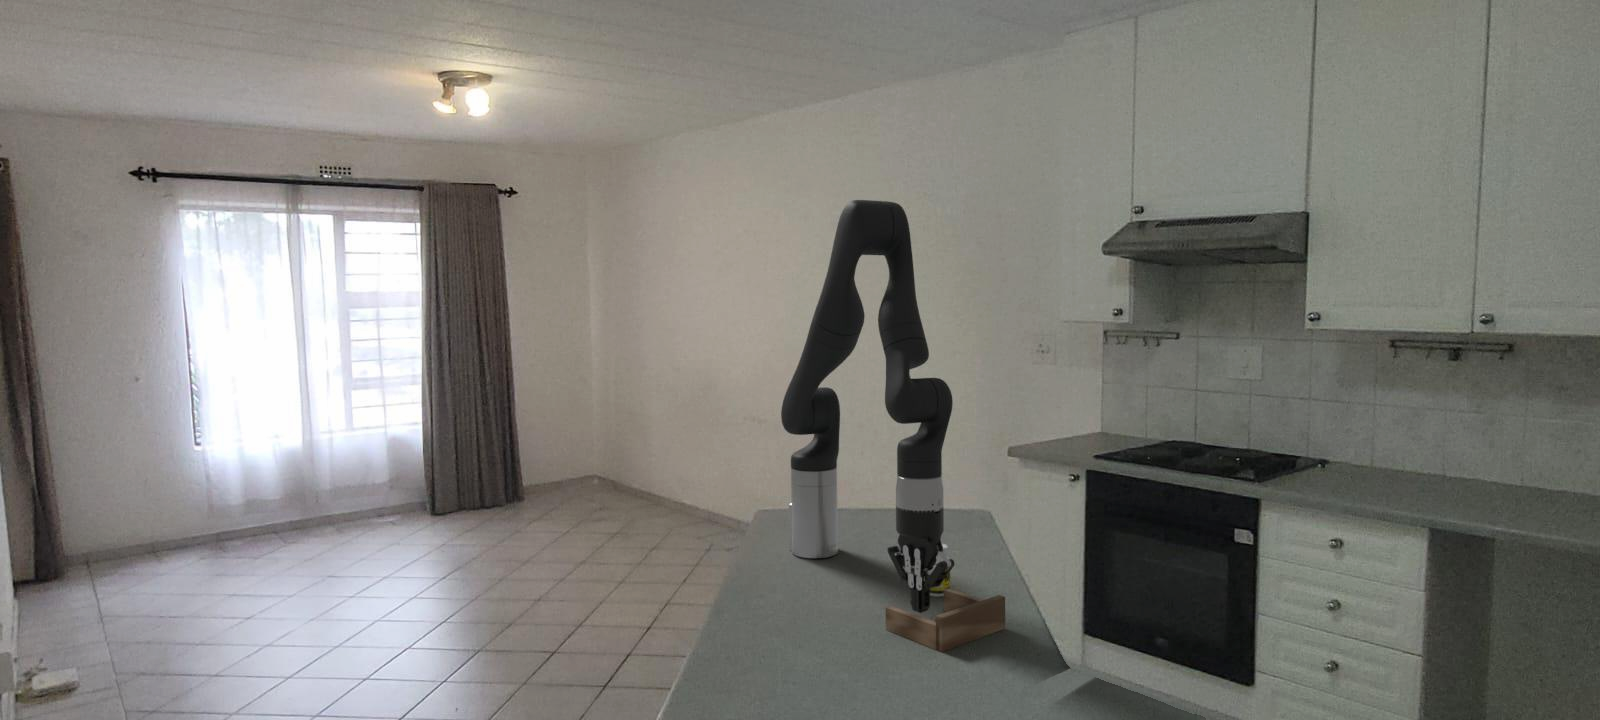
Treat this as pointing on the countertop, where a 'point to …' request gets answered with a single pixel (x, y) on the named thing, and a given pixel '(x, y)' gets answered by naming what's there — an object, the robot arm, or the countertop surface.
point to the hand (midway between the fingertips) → (920, 610)
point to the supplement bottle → (946, 582)
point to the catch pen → (950, 621)
